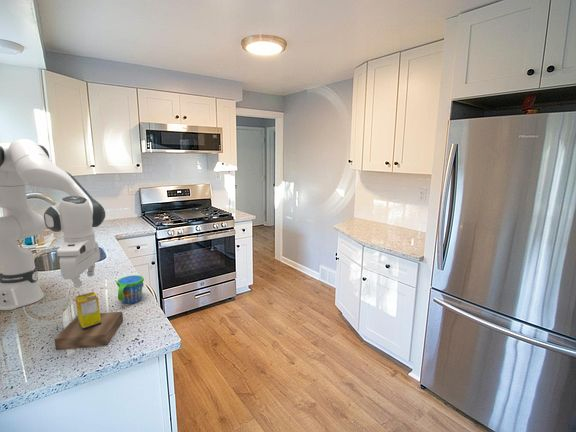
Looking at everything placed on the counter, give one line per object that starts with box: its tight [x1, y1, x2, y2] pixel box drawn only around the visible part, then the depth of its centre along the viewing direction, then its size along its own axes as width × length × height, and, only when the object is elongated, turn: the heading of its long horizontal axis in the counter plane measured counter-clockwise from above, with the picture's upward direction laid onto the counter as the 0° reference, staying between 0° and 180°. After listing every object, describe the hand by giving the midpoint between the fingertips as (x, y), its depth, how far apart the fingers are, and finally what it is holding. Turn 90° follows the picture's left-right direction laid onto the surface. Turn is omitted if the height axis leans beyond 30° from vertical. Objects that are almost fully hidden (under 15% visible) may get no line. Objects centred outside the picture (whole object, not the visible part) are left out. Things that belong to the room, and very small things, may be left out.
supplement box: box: [74, 291, 101, 330], centre depth 111 cm, size 6×6×11 cm
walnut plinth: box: [54, 311, 124, 351], centre depth 112 cm, size 16×16×4 cm
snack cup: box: [116, 274, 144, 304], centre depth 138 cm, size 16×10×10 cm
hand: (85, 281), depth 109 cm, fingers open, 8 cm apart
